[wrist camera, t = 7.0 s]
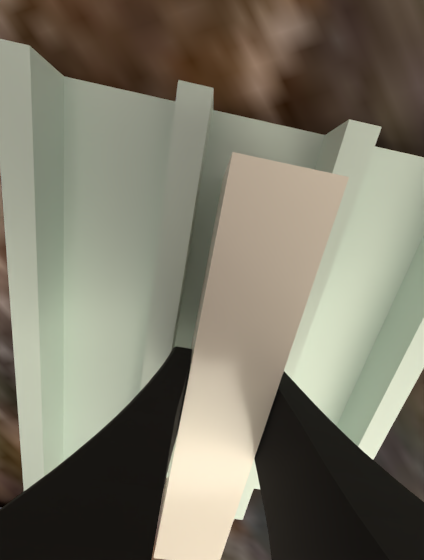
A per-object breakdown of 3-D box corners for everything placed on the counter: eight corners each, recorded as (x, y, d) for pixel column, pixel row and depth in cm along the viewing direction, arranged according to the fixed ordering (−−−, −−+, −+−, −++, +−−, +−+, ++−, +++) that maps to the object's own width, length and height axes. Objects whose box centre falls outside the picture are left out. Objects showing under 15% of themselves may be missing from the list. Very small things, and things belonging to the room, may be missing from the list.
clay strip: (216, 457, 13) (218, 564, 9) (171, 451, 13) (153, 557, 9) (288, 190, 9) (348, 176, 5) (223, 177, 9) (232, 151, 5)
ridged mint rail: (321, 479, 15) (343, 531, 12) (48, 442, 14) (13, 492, 11) (464, 176, 9) (550, 165, 7) (38, 81, 8) (-29, 31, 6)
